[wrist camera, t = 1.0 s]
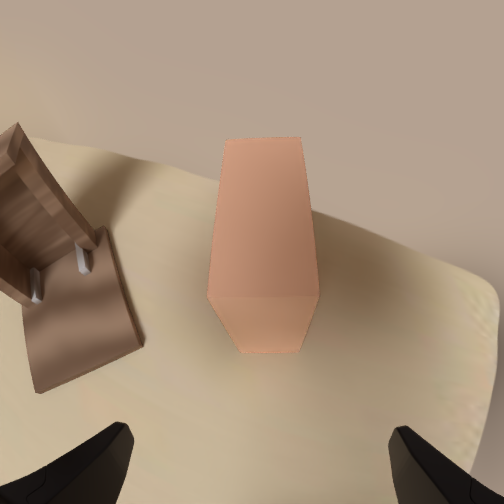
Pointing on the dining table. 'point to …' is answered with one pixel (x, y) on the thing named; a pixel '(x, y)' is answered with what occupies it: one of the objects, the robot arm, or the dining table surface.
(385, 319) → the dining table surface
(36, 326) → the walnut shelf
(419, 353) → the dining table surface
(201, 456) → the dining table surface
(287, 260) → the terracotta slab
